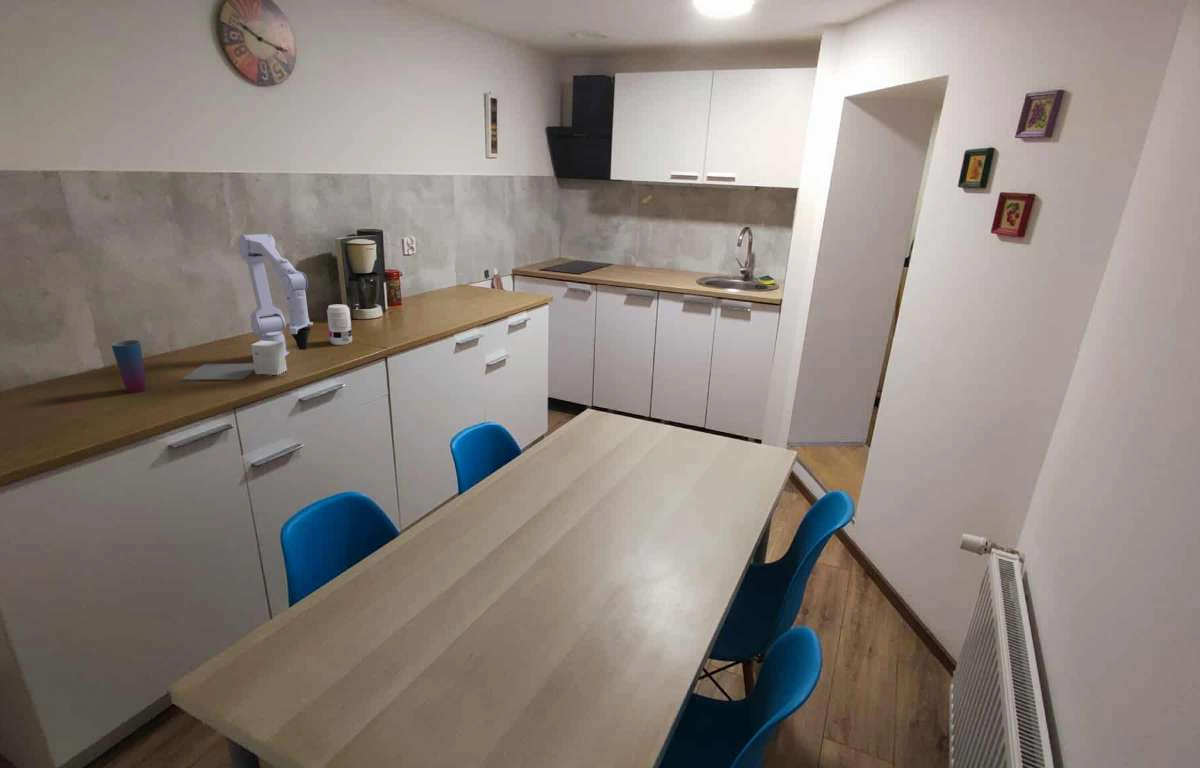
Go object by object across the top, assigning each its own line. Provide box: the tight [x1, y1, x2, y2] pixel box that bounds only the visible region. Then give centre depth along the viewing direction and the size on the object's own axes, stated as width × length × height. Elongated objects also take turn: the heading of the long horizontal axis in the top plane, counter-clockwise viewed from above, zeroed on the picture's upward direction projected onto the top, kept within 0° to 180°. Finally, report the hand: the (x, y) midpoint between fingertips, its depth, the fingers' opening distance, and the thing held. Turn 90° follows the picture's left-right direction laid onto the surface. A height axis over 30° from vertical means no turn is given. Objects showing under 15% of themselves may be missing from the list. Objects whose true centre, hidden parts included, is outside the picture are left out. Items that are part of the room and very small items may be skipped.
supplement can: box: [326, 303, 353, 346], centre depth 235 cm, size 8×8×15 cm
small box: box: [250, 341, 288, 376], centre depth 199 cm, size 8×6×10 cm
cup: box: [110, 339, 148, 394], centre depth 178 cm, size 7×7×15 cm
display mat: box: [181, 363, 255, 382], centre depth 198 cm, size 16×18×1 cm
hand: (302, 349), depth 200 cm, fingers closed
